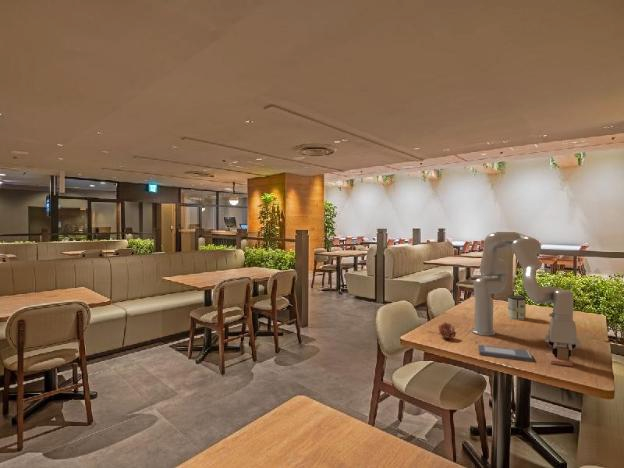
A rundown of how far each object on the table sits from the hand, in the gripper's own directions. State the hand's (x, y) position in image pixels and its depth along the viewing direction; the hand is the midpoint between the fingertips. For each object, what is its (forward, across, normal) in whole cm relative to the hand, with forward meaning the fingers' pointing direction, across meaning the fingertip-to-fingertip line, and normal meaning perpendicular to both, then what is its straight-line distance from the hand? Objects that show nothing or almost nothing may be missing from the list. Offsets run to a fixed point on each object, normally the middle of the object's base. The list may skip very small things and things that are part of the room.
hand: (561, 356), depth 163 cm
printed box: (+3, +3, +22) cm, 22 cm away
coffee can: (+3, -8, +75) cm, 76 cm away
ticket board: (+2, -23, 0) cm, 23 cm away
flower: (+3, -49, +14) cm, 51 cm away
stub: (+2, -1, 0) cm, 3 cm away
